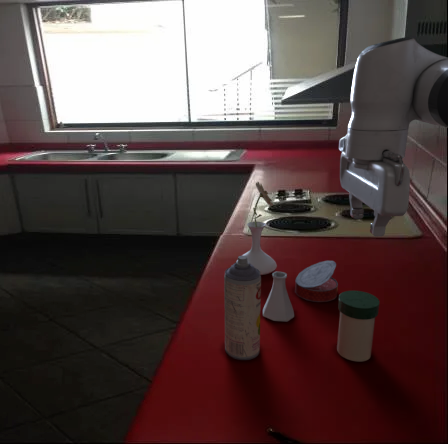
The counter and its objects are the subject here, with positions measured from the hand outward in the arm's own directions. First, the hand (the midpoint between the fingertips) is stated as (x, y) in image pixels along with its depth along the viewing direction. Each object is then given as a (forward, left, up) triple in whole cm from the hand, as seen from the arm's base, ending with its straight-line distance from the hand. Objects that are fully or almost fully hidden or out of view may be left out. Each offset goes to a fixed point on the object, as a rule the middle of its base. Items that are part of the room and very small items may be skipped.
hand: (366, 225), depth 73 cm
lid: (0, 0, -15) cm, 15 cm away
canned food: (+5, -24, -26) cm, 36 cm away
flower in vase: (+20, -36, -26) cm, 49 cm away
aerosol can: (+21, +3, -26) cm, 33 cm away
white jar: (0, 0, -26) cm, 26 cm away
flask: (+14, -12, -26) cm, 32 cm away
